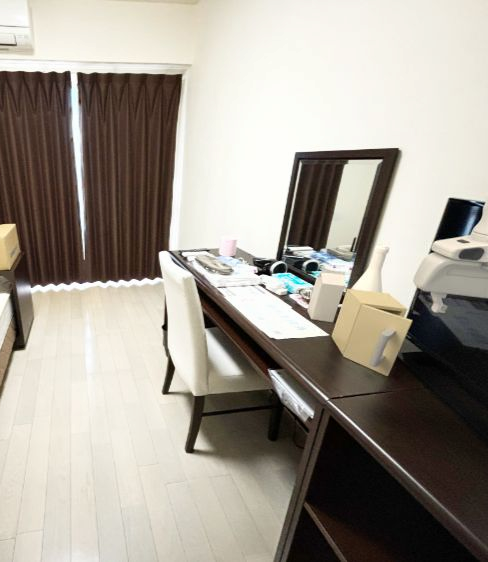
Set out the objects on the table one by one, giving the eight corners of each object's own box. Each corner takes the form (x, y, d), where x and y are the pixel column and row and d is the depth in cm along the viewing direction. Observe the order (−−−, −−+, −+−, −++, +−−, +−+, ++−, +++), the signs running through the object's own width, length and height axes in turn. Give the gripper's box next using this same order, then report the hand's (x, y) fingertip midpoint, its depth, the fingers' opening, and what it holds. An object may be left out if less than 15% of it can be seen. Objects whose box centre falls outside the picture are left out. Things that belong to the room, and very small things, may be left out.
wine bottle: (354, 317, 117) (381, 241, 106) (377, 330, 109) (410, 249, 97) (333, 318, 116) (358, 242, 104) (355, 332, 107) (385, 250, 96)
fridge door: (380, 383, 82) (404, 327, 76) (335, 362, 91) (353, 309, 84) (388, 375, 86) (412, 320, 79) (344, 355, 94) (362, 304, 87)
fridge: (384, 362, 91) (407, 309, 85) (342, 354, 95) (361, 303, 88) (369, 342, 101) (388, 293, 94) (331, 336, 104) (347, 288, 97)
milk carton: (332, 323, 113) (348, 275, 106) (311, 319, 115) (325, 272, 108) (327, 314, 119) (341, 268, 112) (306, 311, 121) (319, 266, 114)
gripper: (558, 251, 57) (519, 316, 62) (423, 241, 62) (398, 301, 68) (595, 261, 51) (549, 332, 56) (443, 249, 57) (414, 314, 62)
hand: (466, 315), depth 62 cm, fingers open, 8 cm apart
